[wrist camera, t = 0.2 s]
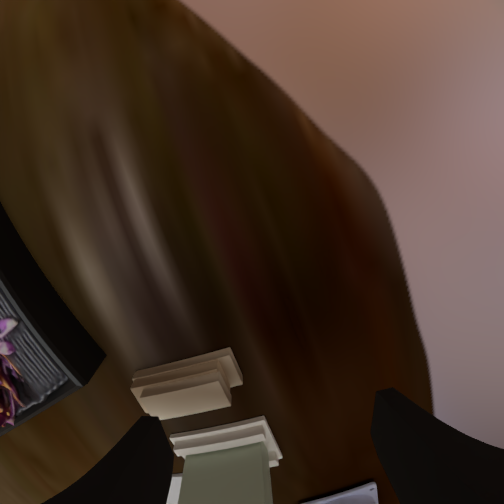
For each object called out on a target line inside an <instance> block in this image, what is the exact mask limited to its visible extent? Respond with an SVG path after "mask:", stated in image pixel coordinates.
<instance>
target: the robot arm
mask: <svg viewBox="0 0 504 504" xmlns="http://www.w3.org/2000/svg"><path fill="white" fill-rule="evenodd" d="M370 433H371V436H372V439H373V443H374V446H375V449H376V452H377V455H378V457H379V459H380V462H381V464H382V466H383V468H384V470H385V472H386V474H387V476H388V478H389V480H390V482H391V484H392V486H393V488H394V491H395V493H396V495H397V497H398V499H399V501H400V503H401V504H504V449H501V448H498V447H494V446H492V445H489V444H486V443H484V442H481V441H479V440H477V439H474V438H472V437H470V436H468V435H465V434H464V433H462V432H460V431H458V430H456V429H454V428H453V427H451V426H449V425H447V424H445V423H444V422H442V421H440V420H439V419H437V418H436V417H434V416H433V415H431V414H430V413H428V412H427V411H425V410H424V409H422V408H421V407H419V406H418V405H417V404H415V403H414V402H412V401H411V400H409V399H408V398H407V397H405V396H404V395H403V394H401V393H400V392H398V391H397V390H396V389H394V388H393V387H392V388H389V389H385V390H381V391H376V397H375V405H374V412H373V419H372V426H371V432H370ZM173 459H174V454H173V452H172V450H171V447H170V445H169V442H168V440H167V437H166V435H165V432H164V430H163V427H162V425H161V422H160V419H159V417H158V416H141V417H140V419H139V420H138V421H137V422H136V423H135V424H134V425H133V426H132V427H131V428H130V429H129V431H128V432H127V433H126V434H125V435H124V436H123V437H122V438H121V439H120V441H119V442H118V443H117V444H116V445H115V446H114V447H113V448H112V449H111V450H110V451H109V452H108V453H107V454H106V455H105V456H104V457H103V458H102V459H101V460H100V461H99V462H98V463H97V464H96V465H95V466H94V467H93V468H92V469H90V470H89V471H88V472H87V473H86V474H85V475H84V476H82V477H81V478H80V479H79V480H77V481H76V482H75V483H73V484H72V485H71V486H69V487H68V488H67V489H65V490H64V491H62V492H60V493H59V494H57V495H55V496H54V497H52V498H50V499H49V500H47V501H45V502H43V503H42V504H166V503H167V498H168V494H169V489H170V485H171V480H172V471H173ZM301 504H378V495H377V485H376V483H375V482H370V483H368V484H365V485H362V486H359V487H356V488H353V489H350V490H347V491H344V492H341V493H338V494H335V495H331V496H328V497H324V498H321V499H317V500H313V501H309V502H305V503H301Z"/></svg>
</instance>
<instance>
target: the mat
mask: <svg viewBox="0 0 504 504" xmlns="http://www.w3.org/2000/svg"><path fill="white" fill-rule="evenodd" d="M182 475H183V473H179V474H172V480H171V485H170V489H169V494H168V498H167V503H166V504H178V499H179V493H180V487H181V481H182Z"/></svg>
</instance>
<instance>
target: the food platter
mask: <svg viewBox="0 0 504 504" xmlns="http://www.w3.org/2000/svg"><path fill="white" fill-rule="evenodd" d="M105 357H106V354H105V353H104V351H103V350H102V349H101V348H100V347H99V346H98V344H97V343H96V342H95V341H94V340H93V339H92V337H91V336H90V335H89V334H88V332H87V331H86V330H85V329H84V328H83V326H82V325H81V324H80V323H79V321H78V320H77V319H76V317H75V316H74V315H73V314H72V312H71V311H70V310H69V308H68V307H67V306H66V304H65V303H64V302H63V300H62V299H61V298H60V296H59V295H58V294H57V292H56V291H55V289H54V288H53V287H52V285H51V284H50V282H49V281H48V279H47V278H46V277H45V275H44V274H43V272H42V271H41V269H40V268H39V266H38V265H37V263H36V262H35V260H34V259H33V257H32V255H31V254H30V252H29V251H28V249H27V248H26V246H25V244H24V243H23V241H22V239H21V238H20V236H19V234H18V233H17V231H16V229H15V228H14V226H13V224H12V222H11V221H10V219H9V217H8V215H7V213H6V212H5V210H4V208H3V206H2V204H1V202H0V389H1V390H0V436H2V435H4V434H5V433H7V432H9V431H10V430H12V429H14V428H15V427H17V426H19V425H21V424H22V423H24V422H26V421H27V420H29V419H31V418H32V417H34V416H36V415H37V414H39V413H41V412H42V411H44V410H46V409H47V408H49V407H50V406H52V405H54V404H55V403H57V402H59V401H60V400H62V399H64V398H65V397H67V396H68V395H70V394H72V393H73V392H75V391H77V390H78V389H80V388H81V387H83V386H85V385H86V384H88V382H89V381H90V379H91V378H92V376H93V375H94V373H95V372H96V370H97V369H98V367H99V366H100V364H101V363H102V361H103V360H104V358H105ZM3 388H4V389H3ZM7 391H8V392H7Z"/></svg>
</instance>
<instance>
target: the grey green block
mask: <svg viewBox="0 0 504 504" xmlns="http://www.w3.org/2000/svg"><path fill="white" fill-rule="evenodd" d="M178 504H273V500H272V489H271V479H270V468H269V458H268V450H267V448H266V446H265V444H264V442H263V441H261V442H257V443H252V444H248V445H243V446H238V447H233V448H228V449H223V450H217V451H212V452H205V453H199V454H192V455H186V457H185V463H184V469H183V475H182V481H181V487H180V493H179V499H178Z"/></svg>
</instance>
